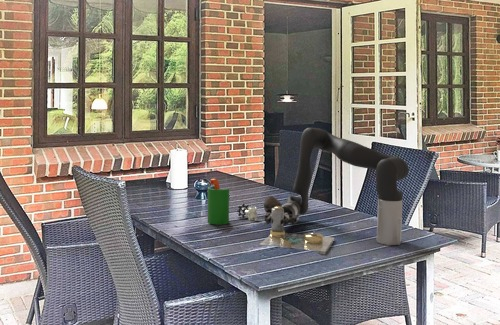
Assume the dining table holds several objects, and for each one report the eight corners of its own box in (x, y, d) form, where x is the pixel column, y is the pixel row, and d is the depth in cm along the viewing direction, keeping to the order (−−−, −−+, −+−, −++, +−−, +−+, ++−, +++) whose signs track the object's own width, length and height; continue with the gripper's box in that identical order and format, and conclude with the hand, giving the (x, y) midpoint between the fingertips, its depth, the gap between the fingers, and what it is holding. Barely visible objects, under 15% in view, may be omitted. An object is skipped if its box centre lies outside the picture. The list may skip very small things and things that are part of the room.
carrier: (334, 240, 210) (334, 229, 210) (324, 254, 192) (324, 242, 192) (273, 234, 218) (273, 224, 218) (259, 247, 201) (259, 236, 200)
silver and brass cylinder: (286, 234, 215) (286, 206, 213) (282, 238, 209) (282, 209, 208) (272, 233, 216) (272, 205, 215) (268, 236, 211) (268, 208, 209)
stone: (277, 215, 267) (263, 201, 268) (288, 205, 263) (274, 190, 264) (270, 222, 259) (255, 208, 260) (280, 212, 255) (266, 197, 256)
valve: (261, 222, 239) (249, 216, 250) (261, 207, 238) (249, 202, 249) (248, 223, 236) (236, 218, 247) (248, 209, 235) (236, 204, 246)
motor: (233, 221, 240) (232, 178, 237) (221, 226, 232) (221, 180, 229) (214, 218, 245) (214, 176, 242) (203, 222, 238) (202, 178, 235)
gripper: (270, 203, 227) (258, 211, 212) (303, 205, 222) (293, 214, 207) (270, 220, 228) (258, 230, 213) (303, 223, 224) (293, 233, 208)
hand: (275, 222), depth 210 cm, fingers open, 6 cm apart
